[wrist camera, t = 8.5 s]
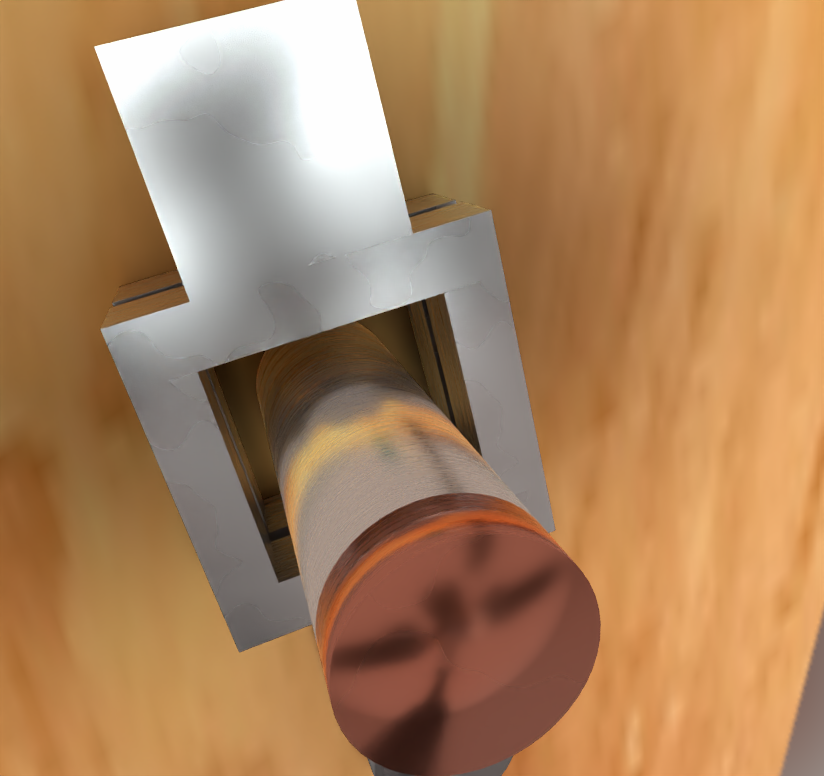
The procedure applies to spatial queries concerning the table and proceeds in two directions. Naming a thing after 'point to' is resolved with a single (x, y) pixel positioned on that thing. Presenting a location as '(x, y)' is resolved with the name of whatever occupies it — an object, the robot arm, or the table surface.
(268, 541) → the strap
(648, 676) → the table surface
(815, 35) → the table surface
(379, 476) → the link pin
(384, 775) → the lower strap
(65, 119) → the table surface
